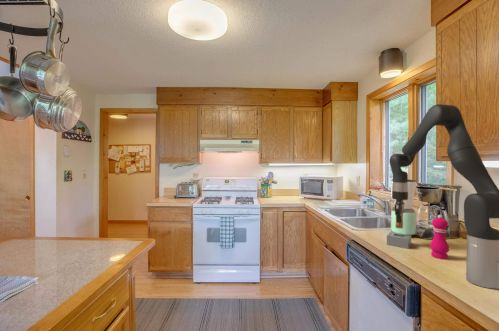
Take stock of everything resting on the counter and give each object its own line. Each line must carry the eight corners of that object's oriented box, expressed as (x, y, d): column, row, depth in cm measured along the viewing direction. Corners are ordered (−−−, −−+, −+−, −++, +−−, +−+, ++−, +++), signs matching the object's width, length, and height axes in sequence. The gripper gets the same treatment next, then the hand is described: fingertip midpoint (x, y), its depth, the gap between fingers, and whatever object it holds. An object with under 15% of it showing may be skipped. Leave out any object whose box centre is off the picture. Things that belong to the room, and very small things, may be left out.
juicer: (399, 230, 165) (400, 177, 164) (421, 235, 153) (422, 179, 152) (382, 234, 155) (383, 178, 155) (404, 240, 144) (405, 179, 143)
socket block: (411, 244, 137) (411, 235, 137) (408, 248, 129) (408, 239, 129) (390, 240, 143) (390, 231, 143) (386, 244, 136) (386, 235, 136)
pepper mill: (434, 258, 116) (435, 215, 116) (427, 253, 123) (427, 212, 123) (452, 260, 114) (453, 216, 114) (444, 254, 121) (444, 213, 121)
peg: (403, 227, 136) (403, 209, 136) (402, 228, 134) (402, 210, 134) (396, 226, 139) (396, 208, 138) (394, 227, 136) (395, 209, 136)
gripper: (405, 192, 128) (405, 225, 128) (410, 190, 139) (409, 220, 139) (389, 191, 133) (388, 223, 133) (394, 188, 144) (394, 218, 144)
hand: (399, 221), depth 136 cm, fingers closed on peg, 3 cm apart
